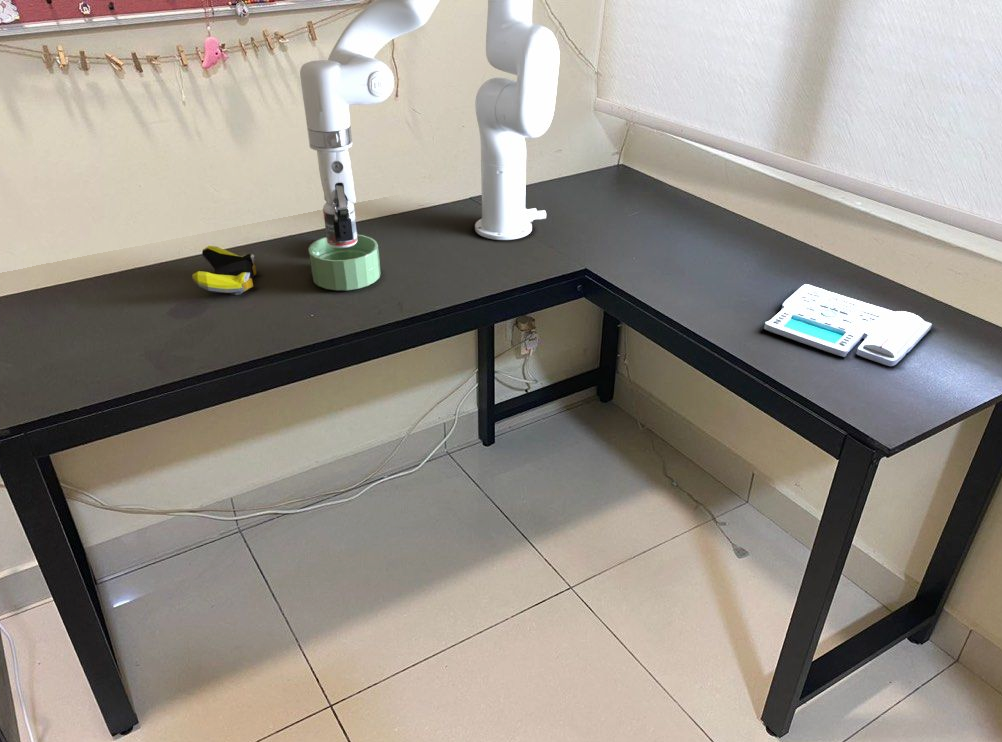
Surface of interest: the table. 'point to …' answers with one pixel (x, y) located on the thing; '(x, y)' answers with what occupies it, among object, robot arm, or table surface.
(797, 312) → the office telephone
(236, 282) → the gaming controller
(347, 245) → the pill bottle
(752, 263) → the table surface
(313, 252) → the green bowl
